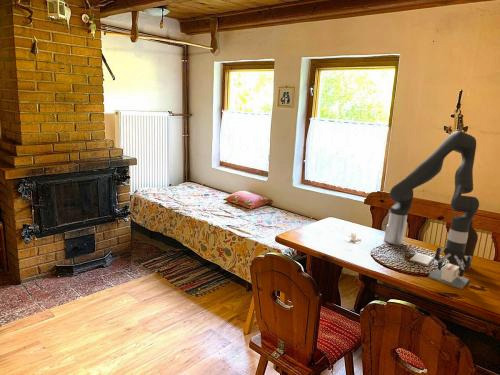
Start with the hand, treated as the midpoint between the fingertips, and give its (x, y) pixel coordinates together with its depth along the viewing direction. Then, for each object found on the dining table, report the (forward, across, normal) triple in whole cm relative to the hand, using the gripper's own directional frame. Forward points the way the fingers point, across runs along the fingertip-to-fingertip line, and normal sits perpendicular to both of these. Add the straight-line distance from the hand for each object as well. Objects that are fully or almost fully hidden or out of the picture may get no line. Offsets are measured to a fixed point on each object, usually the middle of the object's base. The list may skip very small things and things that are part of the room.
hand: (449, 272), depth 168 cm
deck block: (+2, 0, 0) cm, 2 cm away
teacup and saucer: (+4, +49, -8) cm, 50 cm away
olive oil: (+3, +1, -22) cm, 22 cm away
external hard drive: (+4, +16, -13) cm, 21 cm away
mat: (+3, 0, 0) cm, 3 cm away
